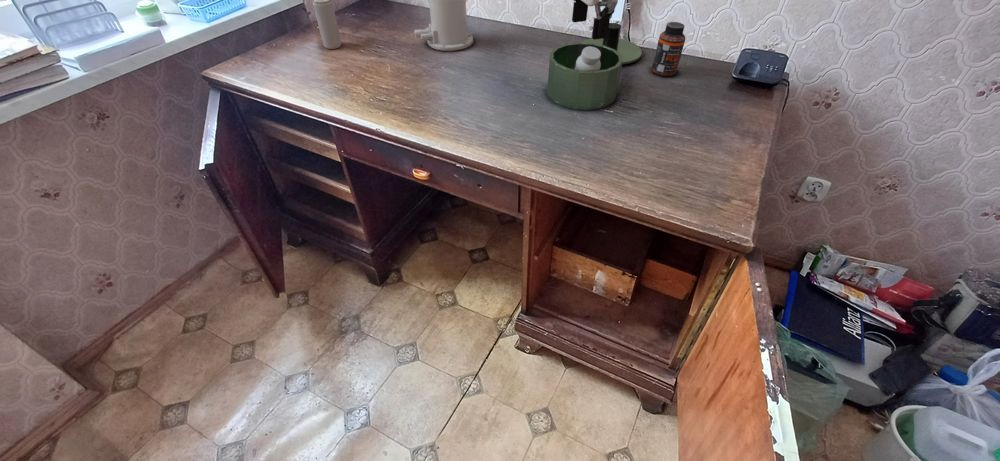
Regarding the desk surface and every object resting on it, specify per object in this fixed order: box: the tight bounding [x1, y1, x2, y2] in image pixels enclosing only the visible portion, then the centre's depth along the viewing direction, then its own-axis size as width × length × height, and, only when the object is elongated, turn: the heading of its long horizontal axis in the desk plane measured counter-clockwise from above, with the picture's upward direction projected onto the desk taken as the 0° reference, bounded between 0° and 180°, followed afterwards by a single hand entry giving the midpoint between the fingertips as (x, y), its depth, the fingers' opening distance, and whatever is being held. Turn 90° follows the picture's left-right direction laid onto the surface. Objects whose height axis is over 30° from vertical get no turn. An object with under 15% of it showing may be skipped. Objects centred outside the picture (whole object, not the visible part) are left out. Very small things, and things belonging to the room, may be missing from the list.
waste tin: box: [546, 42, 624, 111], centre depth 104 cm, size 16×16×8 cm
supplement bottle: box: [651, 21, 686, 77], centre depth 111 cm, size 6×6×11 cm
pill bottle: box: [574, 47, 601, 71], centre depth 102 cm, size 5×5×10 cm
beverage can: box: [312, 0, 343, 50], centre depth 123 cm, size 5×5×12 cm
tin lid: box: [580, 22, 643, 65], centre depth 120 cm, size 17×17×7 cm
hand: (588, 29), depth 97 cm, fingers open, 9 cm apart
